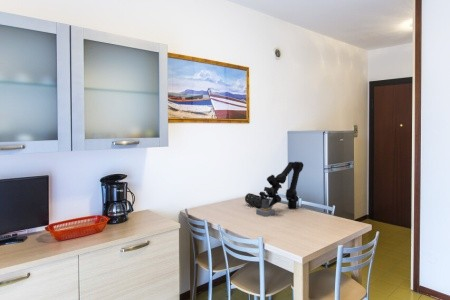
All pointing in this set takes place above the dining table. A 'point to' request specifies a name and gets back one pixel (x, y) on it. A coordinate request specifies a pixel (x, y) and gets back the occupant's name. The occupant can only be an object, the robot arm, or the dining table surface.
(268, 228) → the dining table surface
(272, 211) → the socket block
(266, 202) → the plug
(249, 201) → the black cylindrical piece
